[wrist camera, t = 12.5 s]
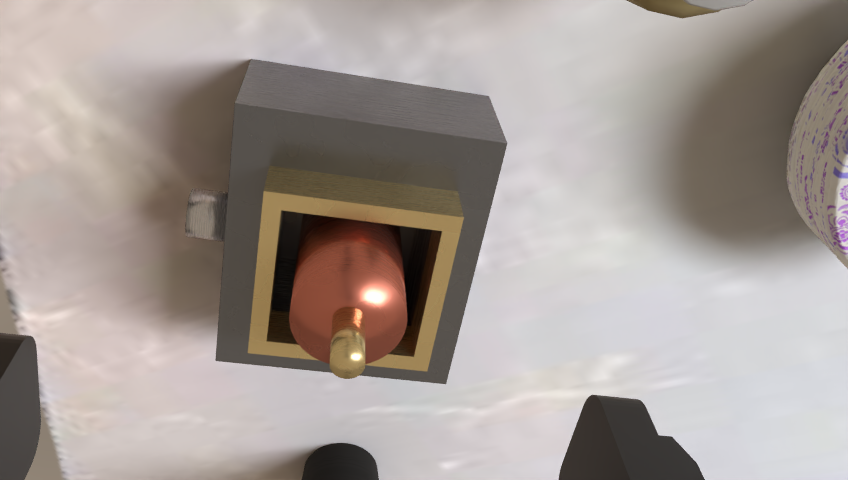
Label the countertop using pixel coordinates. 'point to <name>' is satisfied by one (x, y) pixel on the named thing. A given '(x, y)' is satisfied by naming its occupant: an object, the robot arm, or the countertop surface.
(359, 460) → the drinking cup
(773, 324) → the countertop surface
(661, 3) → the squeeze bottle
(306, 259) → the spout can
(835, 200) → the paper bowls
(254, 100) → the grey drawer box
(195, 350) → the countertop surface
